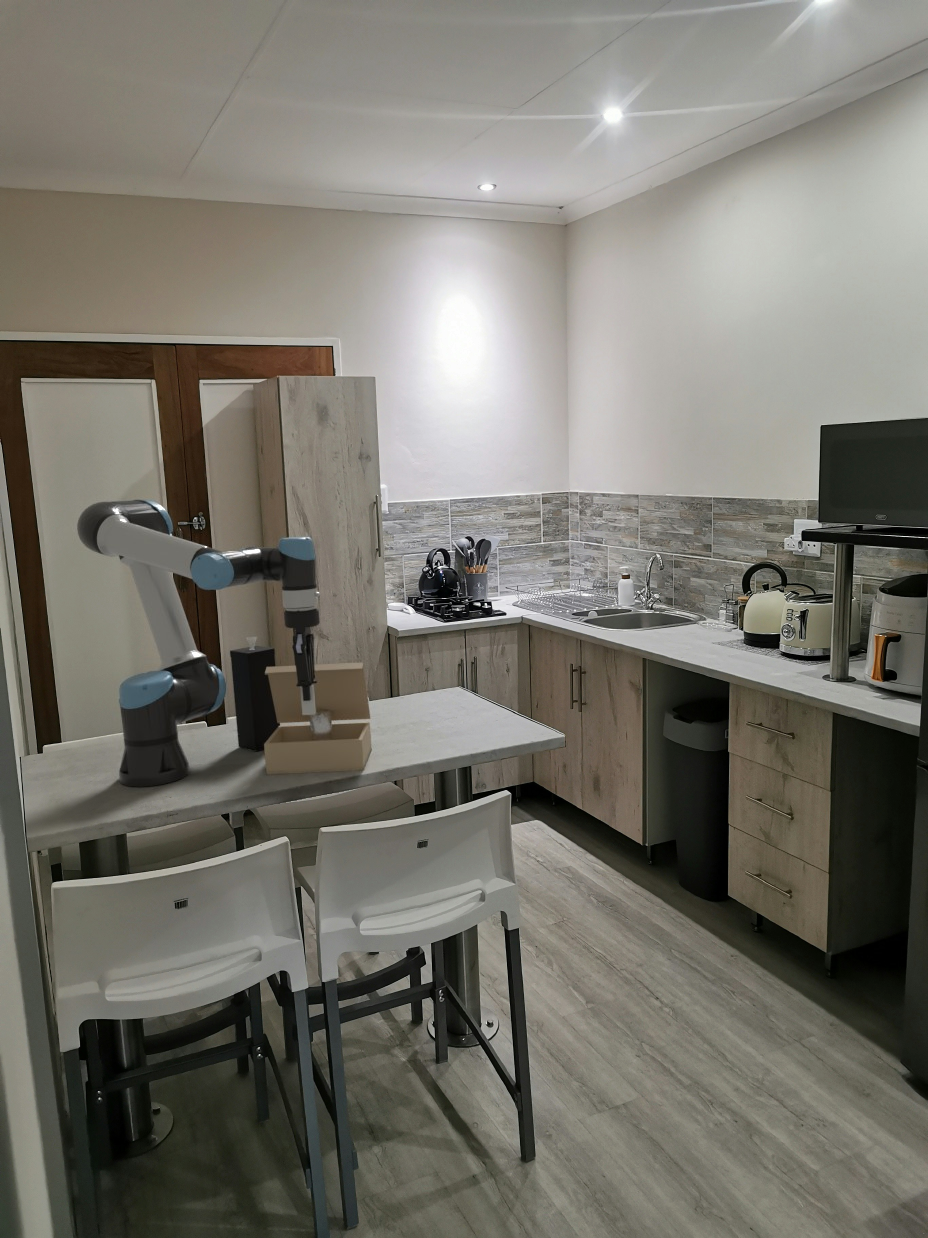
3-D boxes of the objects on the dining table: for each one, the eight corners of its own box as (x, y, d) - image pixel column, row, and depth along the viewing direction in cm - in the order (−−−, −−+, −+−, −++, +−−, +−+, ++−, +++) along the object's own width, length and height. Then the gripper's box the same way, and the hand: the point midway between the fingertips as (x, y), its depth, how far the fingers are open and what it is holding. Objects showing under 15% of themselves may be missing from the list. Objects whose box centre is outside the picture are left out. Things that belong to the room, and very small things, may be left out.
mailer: (266, 774, 207) (264, 744, 206) (281, 754, 223) (279, 725, 222) (363, 769, 207) (361, 739, 206) (371, 749, 223) (369, 721, 222)
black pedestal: (282, 744, 231) (273, 635, 228) (256, 752, 226) (246, 639, 222) (264, 740, 237) (255, 632, 233) (238, 747, 231) (228, 637, 227)
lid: (264, 672, 211) (266, 666, 214) (276, 728, 220) (278, 721, 222) (362, 668, 211) (363, 661, 213) (369, 724, 220) (370, 717, 222)
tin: (310, 758, 216) (307, 715, 215) (314, 752, 221) (311, 710, 220) (332, 757, 216) (329, 714, 215) (335, 751, 221) (332, 709, 219)
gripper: (313, 611, 194) (321, 720, 197) (323, 603, 207) (330, 706, 210) (277, 613, 194) (286, 722, 197) (290, 605, 207) (297, 707, 210)
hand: (309, 713), depth 203 cm, fingers closed
